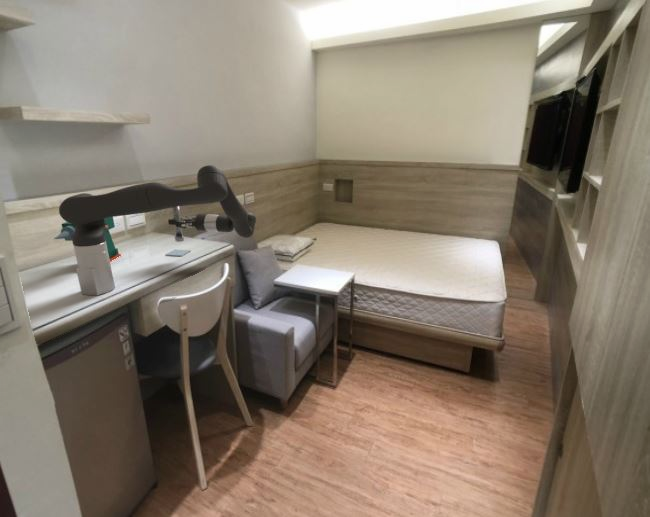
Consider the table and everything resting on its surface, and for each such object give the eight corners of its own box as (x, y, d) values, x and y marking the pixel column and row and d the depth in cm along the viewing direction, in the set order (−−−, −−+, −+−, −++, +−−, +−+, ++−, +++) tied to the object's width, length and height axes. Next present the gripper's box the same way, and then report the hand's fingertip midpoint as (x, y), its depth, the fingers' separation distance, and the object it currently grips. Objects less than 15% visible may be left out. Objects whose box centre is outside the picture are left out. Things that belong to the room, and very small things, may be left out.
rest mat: (181, 256, 157) (181, 255, 157) (165, 255, 158) (165, 254, 158) (190, 251, 165) (190, 250, 164) (174, 250, 166) (174, 249, 165)
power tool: (74, 283, 127) (61, 230, 120) (55, 283, 127) (41, 230, 120) (122, 256, 157) (114, 212, 150) (106, 255, 157) (97, 212, 150)
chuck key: (179, 242, 148) (174, 205, 143) (171, 242, 148) (166, 204, 143) (187, 238, 155) (183, 202, 149) (180, 238, 155) (175, 202, 150)
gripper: (215, 211, 152) (178, 209, 154) (200, 217, 139) (160, 215, 141) (216, 227, 155) (180, 225, 157) (202, 235, 142) (162, 233, 144)
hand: (171, 221), depth 149 cm, fingers closed on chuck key, 2 cm apart
